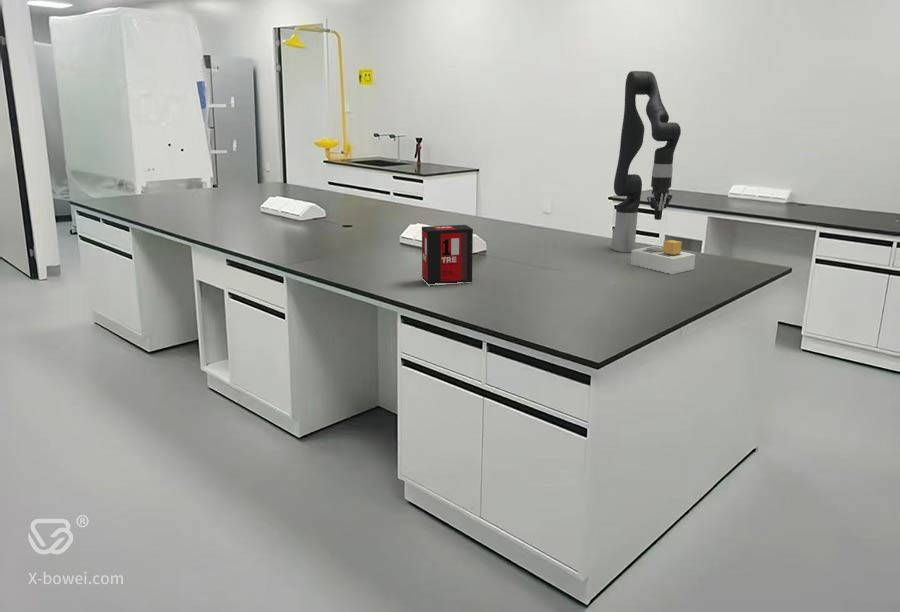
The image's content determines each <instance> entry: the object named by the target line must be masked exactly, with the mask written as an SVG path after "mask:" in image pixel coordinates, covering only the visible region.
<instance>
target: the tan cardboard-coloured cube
mask: <svg viewBox="0 0 900 612" xmlns="http://www.w3.org/2000/svg"><path fill="white" fill-rule="evenodd" d="M682 243H683V242H682V241H679V240H675V239H670V240H663V244H662V245H663V246H662V248H663V253H667V254H672V255H674V254H679V253H681V252H682V246H683V245H682Z"/></svg>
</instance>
